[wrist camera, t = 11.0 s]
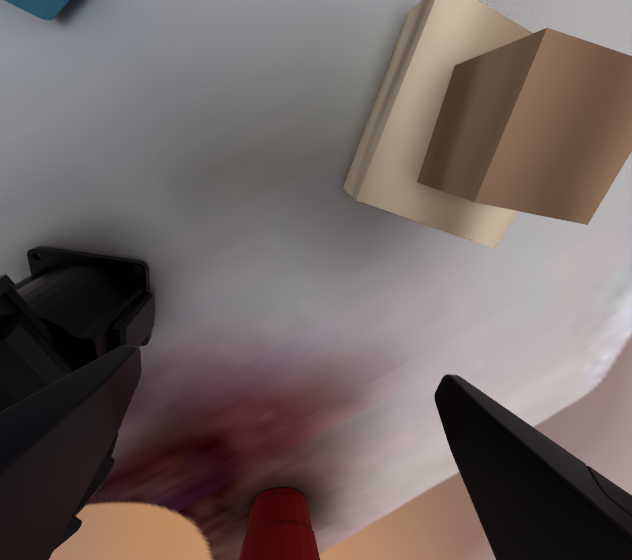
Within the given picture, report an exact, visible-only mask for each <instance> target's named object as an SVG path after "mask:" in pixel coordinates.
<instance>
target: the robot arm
mask: <svg viewBox="0 0 632 560" xmlns="http://www.w3.org/2000/svg"><path fill="white" fill-rule="evenodd" d="M37 253H39V254H40V255H41V256H42V258H40V257H39V256H38V255H37ZM27 256H28V261H29V266H30V270H31V276H29V277H27V278H26V279H24V280H22V281H20V282H18V283H16V284H14V283H13V282H12V280H11V279H10V278H9V277H8V276H7V274H4V275H1V276H0V560H49V558H50V556H51V554H52V552H53V551H54V550H55V549H56V548H57V547H58V546H60V545H61V544H62V543H63V542H64V541H66V540H67V539H68V538H69V537H71V536H72V535H73V534H74V533H75V532H76V531H78V529H79V528H80V526H81V524H82V521H81V520H80V519H78V518H77V517H76V515H77V514H78V513H79V512H80V511H81V510H82V509H83V507H84V506H85V505H86V504H87V503H88V502H89V500H90V499H91V498H92V496H93V495H94V494H95V492H96V491H97V490H98V489H99V487H100V486H101V485H102V483H103V482H104V480H105V478H106V477H107V475H108V473H109V472H110V470H111V468H112V466H113V464H114V458H113V457H112V456H111V455H112V453H113V450H114V447H115V443H116V440H117V437H118V430H119V428H120V425H121V423H122V420H123V418H124V416H125V413H126V411H127V408H128V406H129V404H130V401H131V399H132V396H133V394H134V392H135V389H136V387H137V384H138V382H139V379H140V376H141V353H140V349H139V347H140V346H145V345H147V344H148V342H149V341H150V339H151V329H152V328H153V326H154V304H153V295H152V294H151V292H149V270H148V266H147V264H146V263H145V262H143V261H140V260H133V259H126V258H119V257H111V256H104V255H97V254H90V253H83V252H76V251H68V250H61V249H54V248H47V247H35V248H33V249H31V250H29V251H28V252H27ZM136 266H138V267H140V268H141V270H142V271H138V270H137V269H136ZM435 402H436V406H437V409H438V412H439V415H440V418H441V421H442V425H443V428H444V431H445V434H446V437H447V440H448V443H449V446H450V449H451V452H452V454H453V457H454V459H455V462H456V464H457V466H458V469H459V471H460V474H461V476H462V478H463V481H464V483H465V485H466V488H467V491H468V493H469V495H470V498H471V500H472V503H473V505H474V507H475V510H476V512H477V514H478V517H479V519H480V522H481V524H482V527H483V529H484V531H485V534H486V536H487V539H488V541H489V543H490V546H491V548H492V550H493V553H494V556H495V558H496V560H632V495H630V494H628V493H627V492H625V491H624V490H623V489H621V488H620V487H618V486H617V485H615V484H614V483H612V482H611V481H609V480H608V479H607V478H605V477H604V476H602V475H601V474H599V473H598V472H597V471H595V470H593V469H592V468H591V467H589V466H586V464H585V463H584V462H582V461H581V460H579V459H578V458H576V457H575V456H573V455H572V454H570V453H569V452H568V451H566V450H565V449H563V448H562V447H560V446H559V445H558V444H556V443H555V442H553V441H552V440H550V439H549V438H548V437H546V436H545V435H543V434H542V433H540V432H539V431H537V430H536V429H535V428H533V427H532V426H530V425H529V424H527V423H526V422H525V421H523V420H522V419H520V418H519V417H517V416H516V415H515V414H513V413H512V412H510V411H509V410H507V409H506V408H504V407H503V406H502V405H500V404H499V403H497V402H496V401H494V400H493V399H492V398H490V397H489V396H487V395H486V394H484V393H483V392H481V391H480V390H479V389H477V388H476V387H474V386H473V385H471V384H470V383H469V382H467V381H466V380H464V379H463V378H461V377H460V376H457V375H449V374H448V375H445V376H444V377H443V378H442V380H441V382H440V384H439V386H438V388H437V390H436V392H435Z"/></svg>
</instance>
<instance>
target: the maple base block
mask: <svg viewBox="0 0 632 560" xmlns="http://www.w3.org/2000/svg"><path fill="white" fill-rule="evenodd" d="M531 34H533V33H532V32H530V31H528V30H527V29H525V28H523V27H522V26H520V25H518V24H517V23H515V22H513V21H512V20H510V19H508V18H507V17H505V16H503V15H502V14H500V13H498V12H497V11H495V10H493V9H492V8H490V7H488V6H487V5H485V4H483V3H481V2H480V1H478V0H422V1H421V2H420V3H419V4H418V5H416V6H415V7H414V8H413V9H412V10H411V11H410V12H409V13H408V14H407V17H406V19H405V22H404V25H403V27H402V30H401V33H400V36H399V38H398V41H397V44H396V46H395V49H394V52H393V54H392V57H391V60H390V62H389V65H388V68H387V71H386V73H385V76H384V79H383V81H382V84H381V87H380V89H379V92H378V95H377V98H376V100H375V103H374V106H373V108H372V111H371V114H370V116H369V119H368V122H367V124H366V127H365V130H364V133H363V135H362V138H361V141H360V143H359V146H358V149H357V151H356V154H355V157H354V159H353V162H352V165H351V168H350V170H349V173H348V176H347V178H346V181H345V184H344V186H343V190H344V191H346V192H347V193H348V194H349V195H350V196H352V197H353V198H354V199H355V200H357V201H360V202H363V203H365V204H368V205H371V206H374V207H377V208H380V209H382V210H385V211H388V212H391V213H394V214H397V215H400V216H402V217H405V218H408V219H411V220H414V221H417V222H419V223H422V224H425V225H428V226H431V227H434V228H436V229H439V230H442V231H445V232H448V233H451V234H454V235H456V236H459V237H462V238H465V239H468V240H471V241H473V242H476V243H479V244H482V245H485V246H488V247H490V248H493V249H495V248H496V247H497V245H498V243H499V242H500V240H501V239H502V237H503V235H504V234H505V232H506V231H507V229H508V227H509V226H510V224H511V223H512V221H513V219H514V218H515V216H516V215H517V213H518V211H516V210H510V209H505V208H500V207H495V206H490V205H485V204H480V203H475V202H472V201H469V200H466V199H463V198H460V197H457V196H454V195H452V194H449V193H446V192H443V191H440V190H437V189H434V188H431V187H428V186H425V185H423V184H420V183H417V180H418V177H419V174H420V171H421V168H422V165H423V161H424V158H425V155H426V152H427V149H428V146H429V143H430V140H431V137H432V134H433V131H434V128H435V125H436V122H437V118H438V115H439V112H440V109H441V106H442V103H443V100H444V97H445V94H446V91H447V88H448V85H449V82H450V79H451V75H452V72H453V69H454V66H455V65H457V64H460V63H462V62H464V61H467V60H469V59H472V58H474V57H477V56H479V55H482V54H484V53H487V52H489V51H492V50H494V49H496V48H499V47H501V46H504V45H506V44H509V43H511V42H514V41H516V40H519V39H521V38H524V37H526V36H529V35H531Z"/></svg>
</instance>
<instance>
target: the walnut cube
mask: <svg viewBox="0 0 632 560" xmlns="http://www.w3.org/2000/svg"><path fill="white" fill-rule="evenodd" d="M631 151H632V56H629V55H627V54H624V53H621V52H618V51H615V50H612V49H609V48H606V47H603V46H600V45H597V44H594V43H591V42H588V41H585V40H582V39H579V38H576V37H573V36H570V35H567V34H564V33H561V32H558V31H555V30H552V29H549V28H546V29H543V30H541V31H538V32H536V33H533V34H531V35H529V36H526V37H524V38H521V39H519V40H516V41H514V42H511V43H509V44H506V45H504V46H501V47H499V48H496V49H494V50H492V51H489V52H487V53H484V54H482V55H479V56H477V57H474V58H472V59H469V60H467V61H464V62H462V63H460V64H457V65H455V66H454V69H453V72H452V75H451V79H450V82H449V85H448V88H447V91H446V94H445V97H444V100H443V103H442V106H441V109H440V112H439V115H438V118H437V122H436V125H435V128H434V131H433V134H432V137H431V140H430V143H429V146H428V149H427V152H426V155H425V158H424V161H423V165H422V168H421V171H420V174H419V177H418V180H417V183H420V184H423V185H425V186H428V187H431V188H434V189H437V190H440V191H443V192H446V193H449V194H452V195H454V196H457V197H460V198H463V199H466V200H469V201H472V202H475V203H480V204H485V205H490V206H495V207H500V208H505V209H510V210H516V211H521V212H526V213H531V214H536V215H541V216H546V217H551V218H556V219H561V220H566V221H571V222H576V223H582V224H587V225H588V223H589V221H590V220H591V218H592V216H593V215H594V213H595V211H596V210H597V208H598V206H599V205H600V203H601V201H602V200H603V198H604V196H605V195H606V193H607V191H608V190H609V188H610V186H611V185H612V183H613V181H614V180H615V178H616V176H617V175H618V173H619V171H620V170H621V168H622V166H623V165H624V163H625V161H626V160H627V158H628V156H629V155H630V153H631Z"/></svg>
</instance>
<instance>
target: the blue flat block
mask: <svg viewBox="0 0 632 560" xmlns="http://www.w3.org/2000/svg"><path fill="white" fill-rule="evenodd" d="M4 1H6V2H8V3H11V4H13V5H15V6H17V7H19V8H21V9H23V10H25V11H27V12H29V13H31V14H33V15H35V16H37V17H39V18H41V19H44V20H52V19H53V18H54V17H55V16H56V15H57V14H58V13H59V12H60V10H61V9H62V8H63V7H64V6H65V5H66V4H67V3H68V1H69V0H4Z"/></svg>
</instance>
